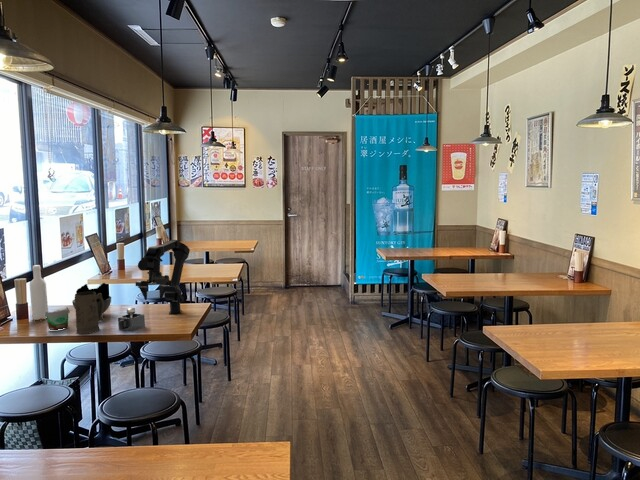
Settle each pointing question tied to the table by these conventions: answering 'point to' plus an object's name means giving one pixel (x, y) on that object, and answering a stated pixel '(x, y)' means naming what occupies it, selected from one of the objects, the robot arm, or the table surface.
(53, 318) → the food container
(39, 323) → the table surface
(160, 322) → the table surface
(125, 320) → the press body
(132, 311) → the plunger
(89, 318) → the beer stein
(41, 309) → the bottle
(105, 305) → the coal bowl
